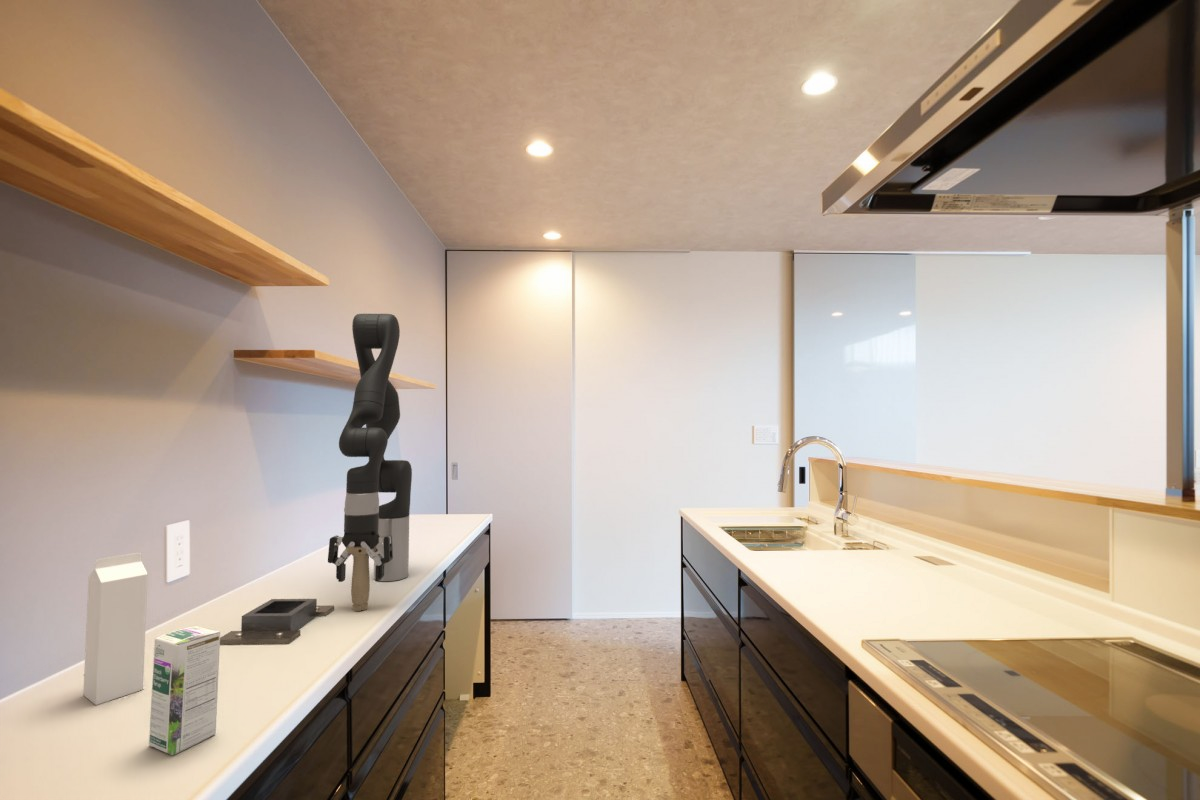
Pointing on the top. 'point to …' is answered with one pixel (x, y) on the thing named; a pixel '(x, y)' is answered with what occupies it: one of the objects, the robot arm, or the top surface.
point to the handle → (360, 577)
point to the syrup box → (184, 688)
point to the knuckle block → (276, 622)
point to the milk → (115, 628)
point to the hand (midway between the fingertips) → (360, 580)
